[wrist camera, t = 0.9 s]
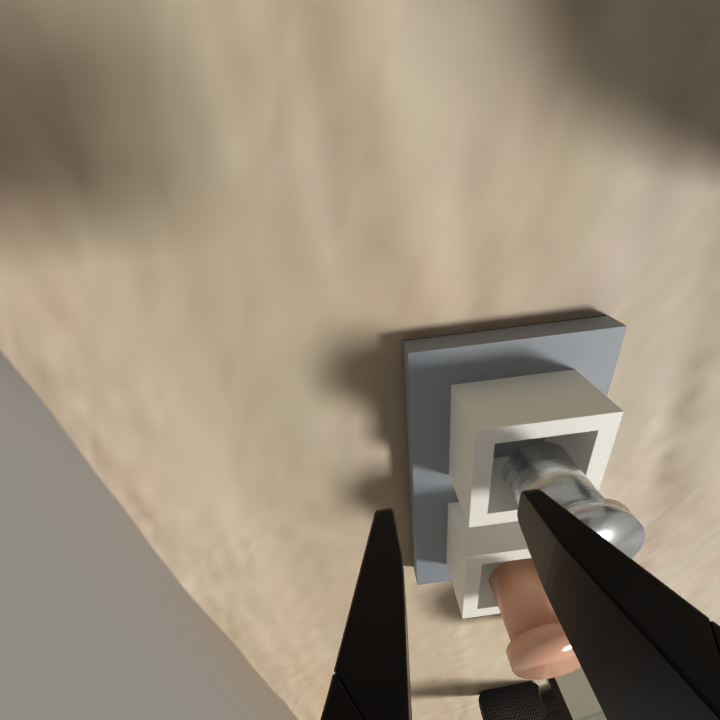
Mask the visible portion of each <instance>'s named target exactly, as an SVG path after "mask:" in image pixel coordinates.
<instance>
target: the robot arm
mask: <svg viewBox="0 0 720 720" xmlns="http://www.w3.org/2000/svg"><path fill="white" fill-rule="evenodd" d="M517 517H518V522H519V525H520V528H521V530H522V533H523V536H524V538H525V541H526V544H527V546H528V549H529V552H530V555H531V557H532V560H533V563H534V565H535V568H536V571H537V573H538V576H539V579H540V581H541V584H542V586H543V589H544V591H545V593H546V595H547V598H548V600H549V602H550V604H551V606H552V608H553V610H554V612H555V614H556V616H557V618H558V620H559V622H560V624H561V627H562V629H563V631H564V633H565V635H566V637H567V639H568V641H569V643H570V645H571V647H572V649H573V651H574V653H575V655H576V657H577V659H578V661H579V663H580V666H581V668H582V670H583V672H584V674H585V676H586V678H587V680H588V682H589V684H590V686H591V688H592V690H593V692H594V694H595V696H596V698H597V700H598V702H599V704H600V707H601V709H602V711H603V713H604V715H605V717H606V719H607V720H720V626H719V625H718V624H716V623H715V622H713V621H711V622H710V620H709V618H708V617H707V616H706V615H704V614H703V613H702V612H700V611H699V610H698V609H696V608H695V607H694V606H692V605H691V604H690V603H689V602H687V601H686V600H685V599H683V598H682V597H681V596H679V595H678V594H677V593H675V592H674V591H673V590H671V589H670V588H669V587H668V586H666V585H665V584H664V583H662V582H661V581H660V580H658V579H657V578H656V577H654V576H653V575H652V574H651V573H649V572H648V571H647V570H645V569H644V568H643V567H641V566H640V565H639V564H637V563H636V562H635V561H633V560H632V559H631V558H630V557H628V556H627V555H626V554H624V553H623V552H622V551H620V550H619V549H618V548H616V547H615V546H614V545H613V544H611V543H610V542H609V541H607V540H606V539H605V538H603V537H602V536H601V535H599V534H598V533H597V532H595V531H594V530H593V529H592V528H590V527H589V526H588V525H586V524H585V523H584V522H582V521H581V520H580V519H578V518H577V517H576V516H575V515H573V514H572V513H571V512H569V511H568V510H567V509H565V508H564V507H563V506H561V505H560V504H559V503H557V502H556V501H555V500H554V499H552V498H551V497H550V496H548V495H547V494H546V493H544V492H543V491H542V490H539V489H530V490H524V491H522V492H521V494H520V499H519V505H518V511H517ZM334 672H335V674H333V676H332V679H331V683H330V687H329V691H328V695H327V699H326V702H325V706H324V709H323V713H322V716H321V720H412V709H411V689H410V668H409V648H408V628H407V612H406V597H405V583H404V569H403V559H402V552H401V547H400V542H399V537H398V532H397V527H396V522H395V517H394V512H393V510H392V509H391V508H387V509H379V510H377V511H376V512H375V514H374V518H373V522H372V526H371V530H370V533H369V537H368V541H367V545H366V549H365V553H364V557H363V561H362V564H361V568H360V572H359V576H358V580H357V584H356V588H355V591H354V595H353V599H352V603H351V607H350V611H349V615H348V619H347V622H346V626H345V630H344V634H343V638H342V642H341V646H340V649H339V653H338V657H337V661H336V665H335V669H334Z"/></svg>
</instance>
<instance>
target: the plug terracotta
mask: <svg viewBox="0 0 720 720" xmlns="http://www.w3.org/2000/svg"><path fill="white" fill-rule="evenodd" d="M488 581H489V584H490V587H491V590H492V592H493V595H494V597H495V600H496V603H497V605H498V608H499V611H500V613H501V616H502V619H503V621H504V624H505V627H506V629H507V632H508V635H509V637H510V640H511V642H510V643H509V645H508V646H507V649H506V653H507V657H508V659H509V662H510V665H511V668H512V671H513V672H514V674H515V675H517V676H518V677H521V678H524V679H532V680H539V679H548V678H554V677H558V676H561V675H565V674H567V673H570V672H572V671H574V670H576V669H578V668H580V667H581V666H580V663H579V661H578V659H577V657H576V655H575V653H574V651H573V649H572V647H571V645H570V643H569V641H568V639H567V637H566V635H565V633H564V631H563V629H562V627H561V624H560V622H559V620H558V618H557V616H556V614H555V612H554V610H553V608H552V606H551V604H550V602H549V600H548V598H547V595H546V593H545V591H544V589H543V586H542V584H541V581H540V579H539V576H538V573H537V571H536V568H535V565H534V563H533V560H531V559H520V560H512V561H508V562H506V563H503V564H501V565H500V566H498V567H497V568H495V569H494V570H493V571H492V572H491V574H490V576H489V580H488Z"/></svg>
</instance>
